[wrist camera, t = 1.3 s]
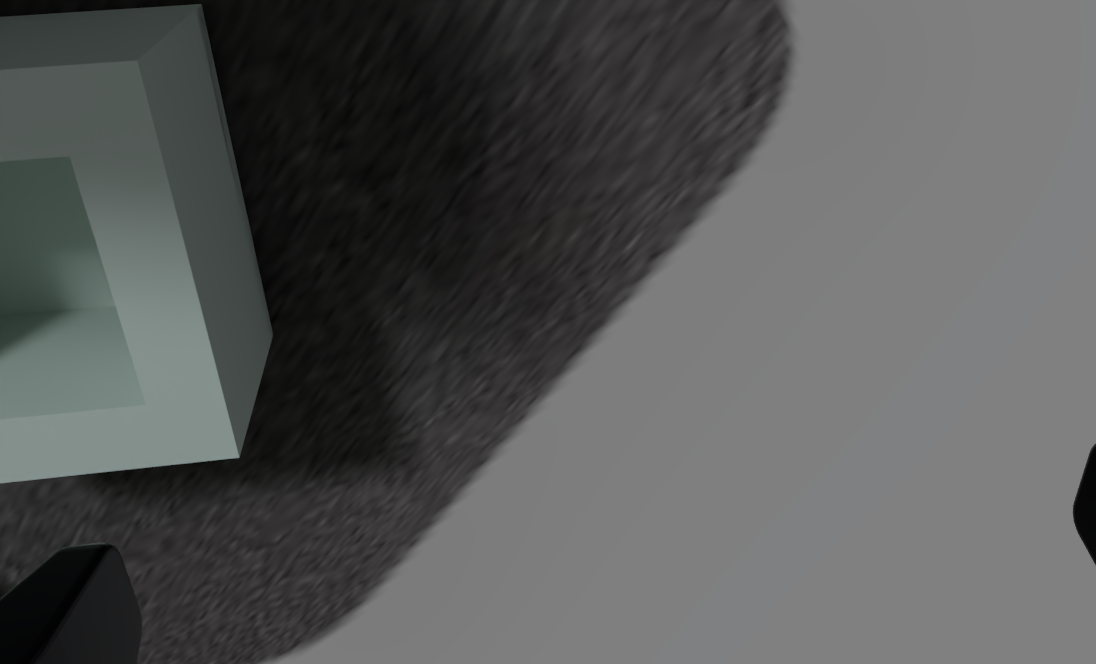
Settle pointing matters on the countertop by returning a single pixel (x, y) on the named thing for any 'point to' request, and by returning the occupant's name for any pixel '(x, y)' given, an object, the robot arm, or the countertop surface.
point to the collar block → (121, 248)
